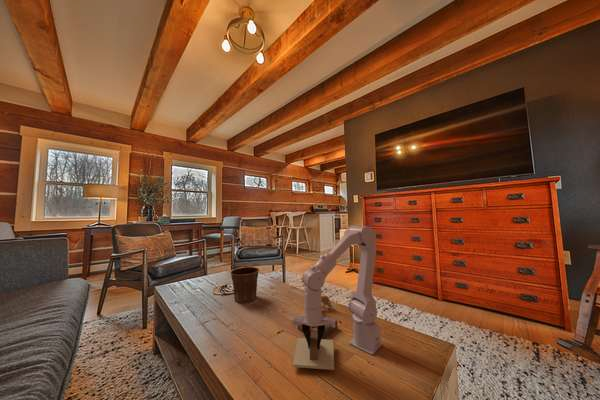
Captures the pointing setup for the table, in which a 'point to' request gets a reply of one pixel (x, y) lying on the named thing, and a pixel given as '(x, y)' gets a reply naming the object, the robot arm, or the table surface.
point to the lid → (314, 353)
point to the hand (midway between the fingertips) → (314, 347)
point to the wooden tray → (327, 329)
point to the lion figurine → (325, 301)
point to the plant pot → (244, 284)
